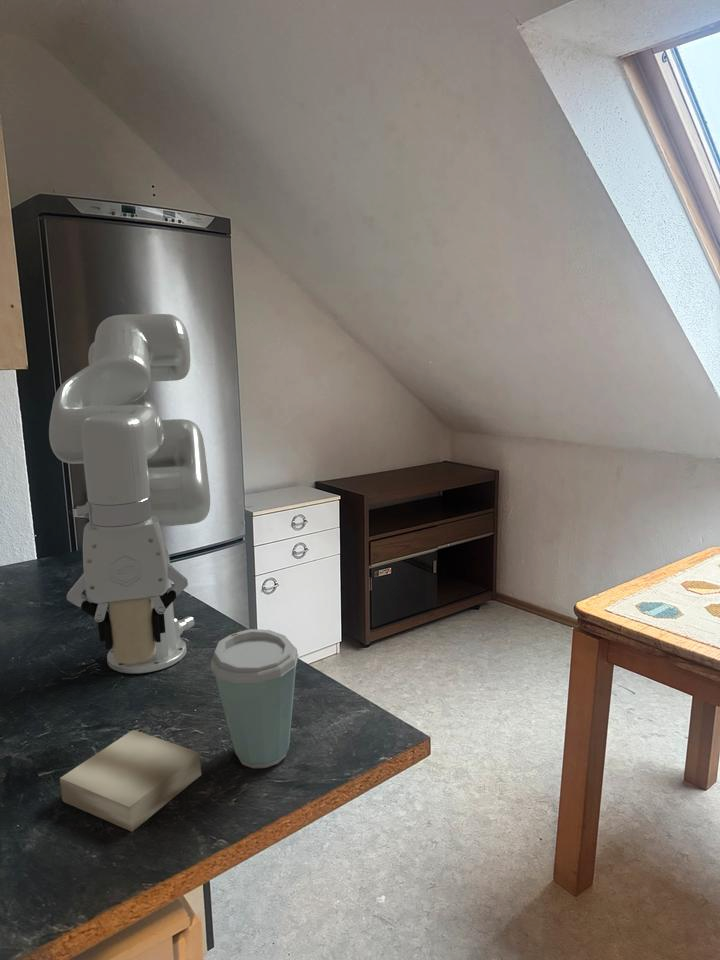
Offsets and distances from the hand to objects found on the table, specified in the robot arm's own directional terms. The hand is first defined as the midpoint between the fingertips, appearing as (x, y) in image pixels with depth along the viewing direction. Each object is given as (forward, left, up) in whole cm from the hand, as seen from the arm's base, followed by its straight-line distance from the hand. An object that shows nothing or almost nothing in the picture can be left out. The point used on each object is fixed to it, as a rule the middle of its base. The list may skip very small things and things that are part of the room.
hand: (133, 640), depth 93 cm
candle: (0, 0, -2) cm, 2 cm away
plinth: (+11, +10, -12) cm, 19 cm away
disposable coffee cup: (-1, +19, -12) cm, 23 cm away
